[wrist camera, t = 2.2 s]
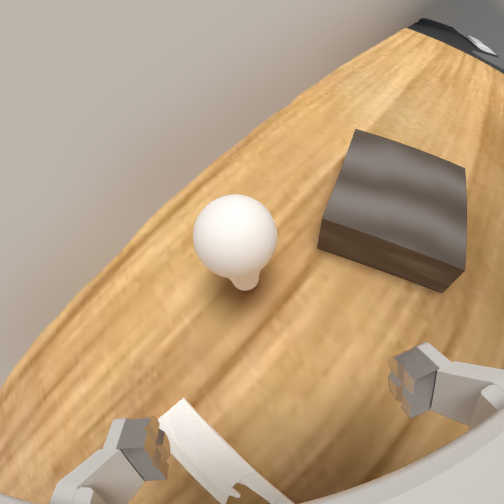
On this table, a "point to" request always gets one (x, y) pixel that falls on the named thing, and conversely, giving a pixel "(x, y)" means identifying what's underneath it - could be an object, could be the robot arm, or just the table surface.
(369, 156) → the charcoal block
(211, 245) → the lightbulb
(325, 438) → the table surface
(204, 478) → the white plastic blade
